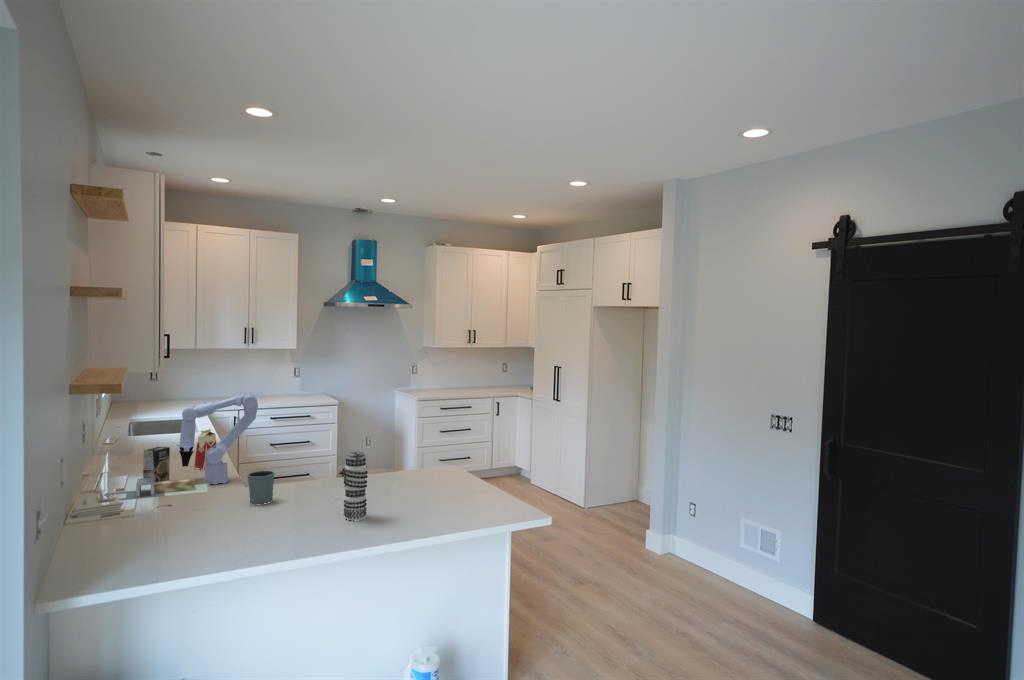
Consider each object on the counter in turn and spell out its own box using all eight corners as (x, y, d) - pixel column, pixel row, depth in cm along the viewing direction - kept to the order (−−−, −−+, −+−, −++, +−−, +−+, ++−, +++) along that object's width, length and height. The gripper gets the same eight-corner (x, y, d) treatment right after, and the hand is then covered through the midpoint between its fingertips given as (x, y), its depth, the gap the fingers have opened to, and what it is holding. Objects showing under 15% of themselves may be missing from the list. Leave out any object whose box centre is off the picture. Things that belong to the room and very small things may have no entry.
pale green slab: (206, 487, 273) (206, 483, 273) (207, 495, 260) (207, 491, 260) (105, 496, 255) (105, 493, 255) (100, 506, 242) (100, 502, 242)
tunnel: (155, 490, 261) (155, 477, 261) (154, 495, 253) (154, 482, 253) (137, 491, 258) (137, 478, 258) (136, 497, 250) (136, 483, 250)
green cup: (278, 502, 252) (278, 473, 252) (254, 507, 244) (254, 477, 244) (267, 497, 259) (267, 469, 258) (243, 502, 251) (243, 473, 251)
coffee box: (154, 487, 271) (155, 450, 271) (142, 486, 273) (142, 450, 272) (170, 481, 280) (170, 447, 280) (158, 481, 282) (158, 446, 281)
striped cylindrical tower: (340, 515, 236) (341, 451, 236) (365, 513, 240) (365, 449, 239) (344, 522, 228) (345, 456, 227) (369, 520, 232) (370, 454, 231)
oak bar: (194, 487, 266) (194, 478, 266) (194, 490, 262) (194, 480, 262) (154, 491, 259) (155, 482, 259) (154, 493, 255) (154, 484, 255)
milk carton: (220, 467, 309) (221, 428, 309) (203, 471, 301) (203, 430, 301) (210, 465, 314) (210, 426, 313) (192, 468, 306) (193, 428, 306)
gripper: (177, 431, 279) (175, 461, 279) (177, 437, 266) (174, 468, 266) (195, 431, 283) (192, 461, 282) (195, 437, 270) (192, 467, 270)
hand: (185, 464), depth 275 cm, fingers open, 7 cm apart
